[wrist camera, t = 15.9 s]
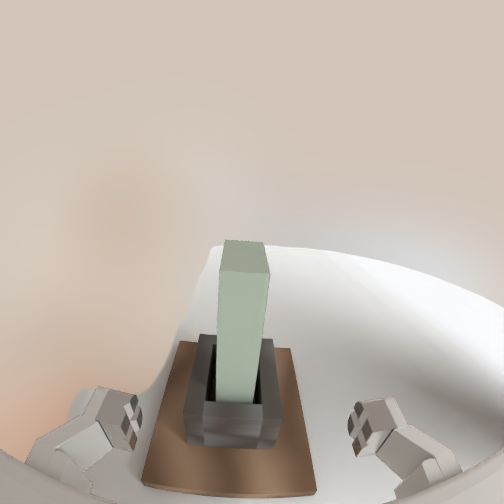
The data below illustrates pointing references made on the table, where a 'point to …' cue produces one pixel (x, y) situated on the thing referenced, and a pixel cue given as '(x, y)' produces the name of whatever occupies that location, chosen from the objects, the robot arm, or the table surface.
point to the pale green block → (240, 319)
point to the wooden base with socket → (230, 430)
